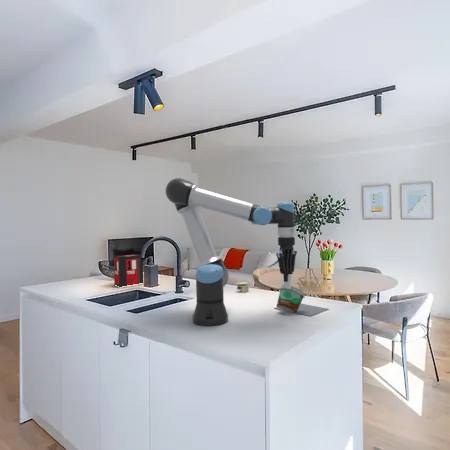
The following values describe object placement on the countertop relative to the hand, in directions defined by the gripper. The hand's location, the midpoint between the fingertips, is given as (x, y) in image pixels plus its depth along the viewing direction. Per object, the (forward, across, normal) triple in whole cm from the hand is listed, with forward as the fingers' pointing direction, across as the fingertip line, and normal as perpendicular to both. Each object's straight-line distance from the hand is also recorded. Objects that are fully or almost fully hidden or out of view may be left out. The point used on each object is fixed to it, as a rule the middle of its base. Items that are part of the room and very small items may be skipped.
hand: (287, 288), depth 160 cm
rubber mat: (+12, +11, 0) cm, 16 cm away
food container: (+9, -2, 0) cm, 9 cm away
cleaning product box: (+11, -14, +119) cm, 120 cm away
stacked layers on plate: (+12, +21, +48) cm, 54 cm away
